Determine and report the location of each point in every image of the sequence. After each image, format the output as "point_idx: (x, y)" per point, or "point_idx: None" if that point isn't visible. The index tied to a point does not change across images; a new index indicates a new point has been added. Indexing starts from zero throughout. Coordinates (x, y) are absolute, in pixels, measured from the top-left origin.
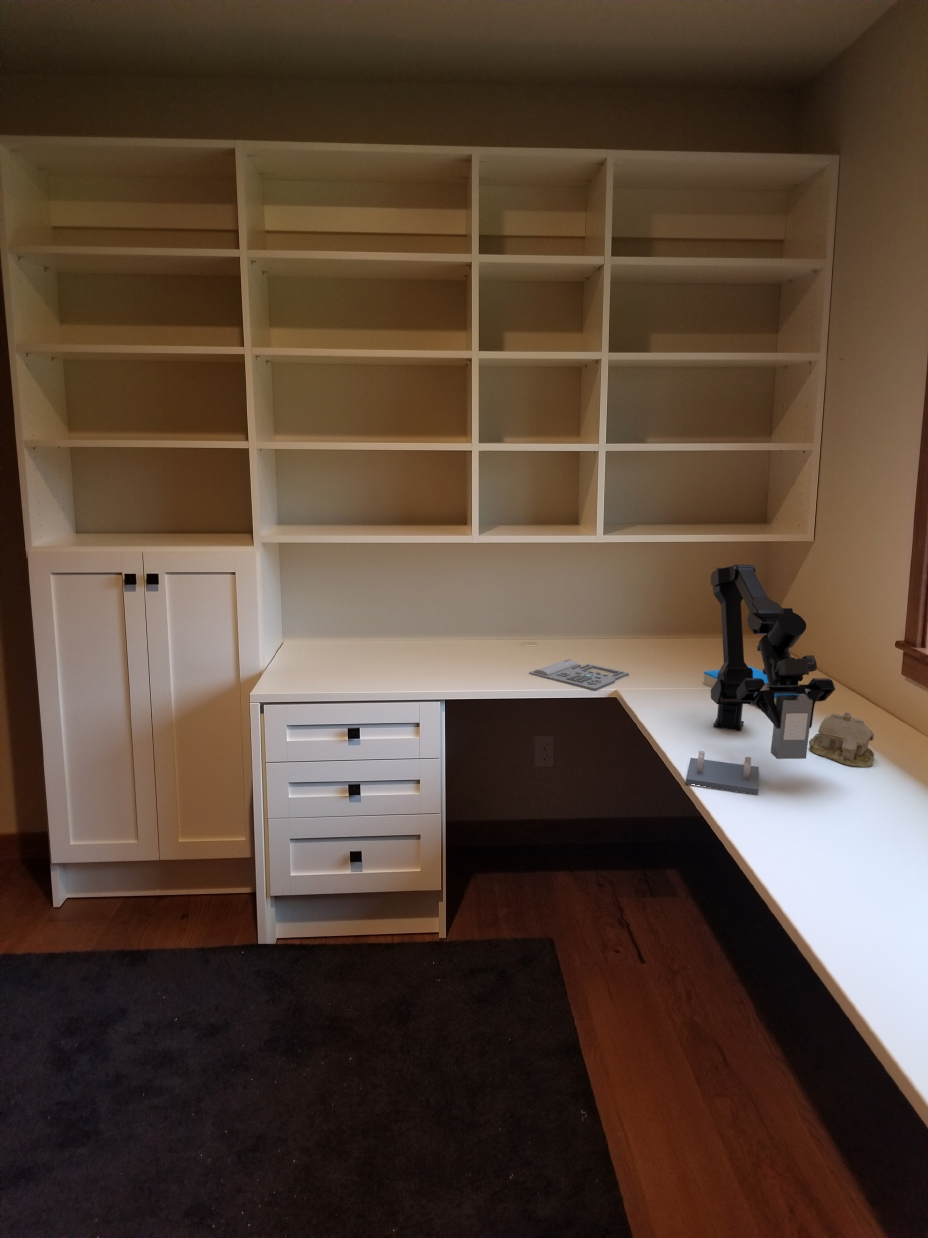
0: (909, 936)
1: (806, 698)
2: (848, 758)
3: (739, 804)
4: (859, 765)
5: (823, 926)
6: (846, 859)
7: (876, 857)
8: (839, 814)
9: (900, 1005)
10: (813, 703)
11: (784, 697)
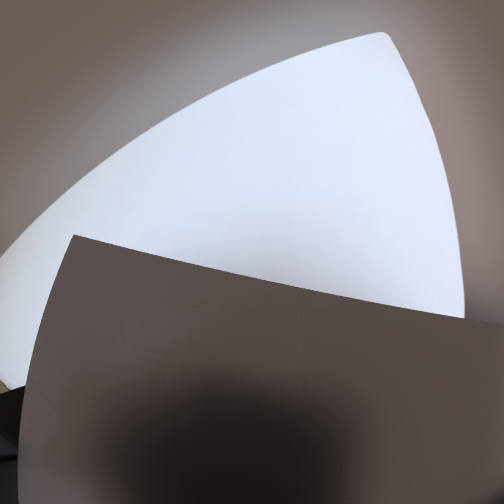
0: (334, 47)
1: (101, 370)
2: None
3: (418, 291)
4: (4, 390)
5: (395, 73)
6: (323, 107)
7: (278, 99)
8: (233, 200)
9: (374, 38)
10: (10, 402)
11: (492, 461)
